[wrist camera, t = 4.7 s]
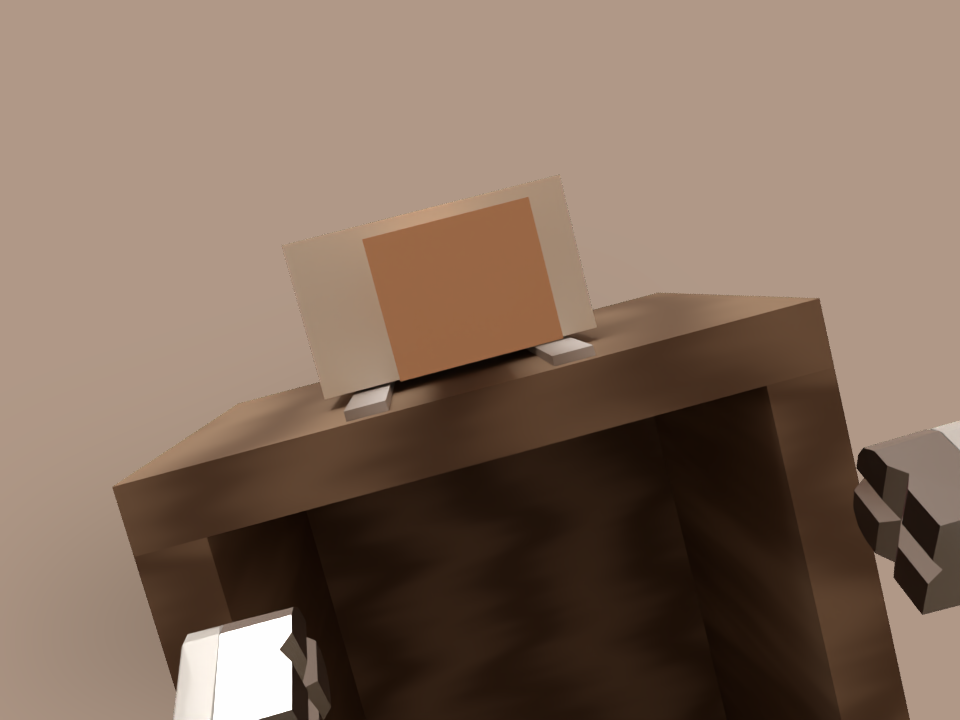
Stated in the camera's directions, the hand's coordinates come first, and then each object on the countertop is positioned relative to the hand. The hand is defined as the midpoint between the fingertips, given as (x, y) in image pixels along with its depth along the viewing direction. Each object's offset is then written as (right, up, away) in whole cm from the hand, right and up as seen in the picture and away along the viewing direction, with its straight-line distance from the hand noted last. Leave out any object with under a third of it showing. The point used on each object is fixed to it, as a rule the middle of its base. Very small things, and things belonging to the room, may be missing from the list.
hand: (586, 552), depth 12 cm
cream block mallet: (-2, +2, +13) cm, 13 cm away
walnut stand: (+4, -22, +22) cm, 32 cm away
